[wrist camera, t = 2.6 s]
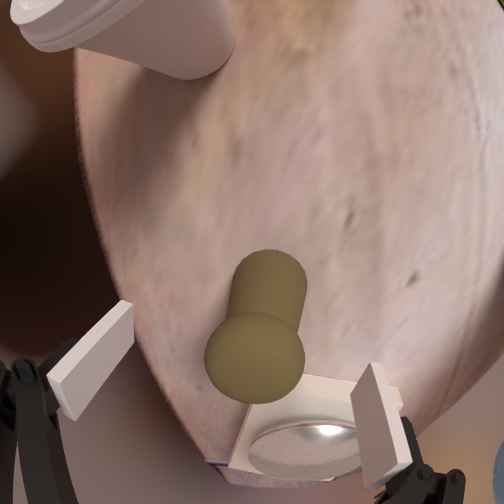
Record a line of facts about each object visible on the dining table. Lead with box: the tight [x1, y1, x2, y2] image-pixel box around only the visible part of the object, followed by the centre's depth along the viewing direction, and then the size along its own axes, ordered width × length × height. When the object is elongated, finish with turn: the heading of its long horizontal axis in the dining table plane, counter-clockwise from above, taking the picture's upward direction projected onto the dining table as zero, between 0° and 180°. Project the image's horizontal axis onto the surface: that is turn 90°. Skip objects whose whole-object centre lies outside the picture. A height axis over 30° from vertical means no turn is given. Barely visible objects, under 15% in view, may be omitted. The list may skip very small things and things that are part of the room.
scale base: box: [228, 373, 403, 481], centre depth 26 cm, size 15×19×4 cm
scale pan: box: [248, 418, 361, 481], centre depth 22 cm, size 13×13×1 cm
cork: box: [204, 250, 307, 404], centre depth 17 cm, size 6×6×11 cm
